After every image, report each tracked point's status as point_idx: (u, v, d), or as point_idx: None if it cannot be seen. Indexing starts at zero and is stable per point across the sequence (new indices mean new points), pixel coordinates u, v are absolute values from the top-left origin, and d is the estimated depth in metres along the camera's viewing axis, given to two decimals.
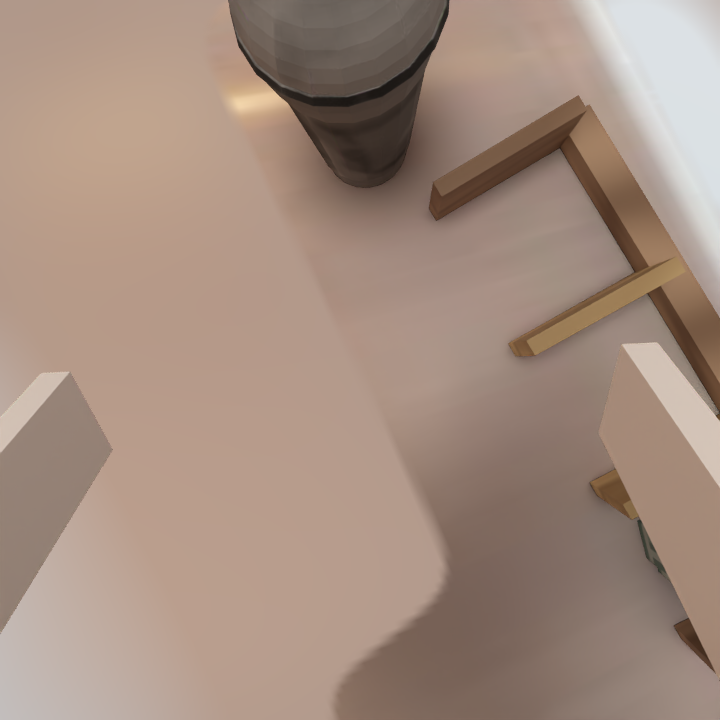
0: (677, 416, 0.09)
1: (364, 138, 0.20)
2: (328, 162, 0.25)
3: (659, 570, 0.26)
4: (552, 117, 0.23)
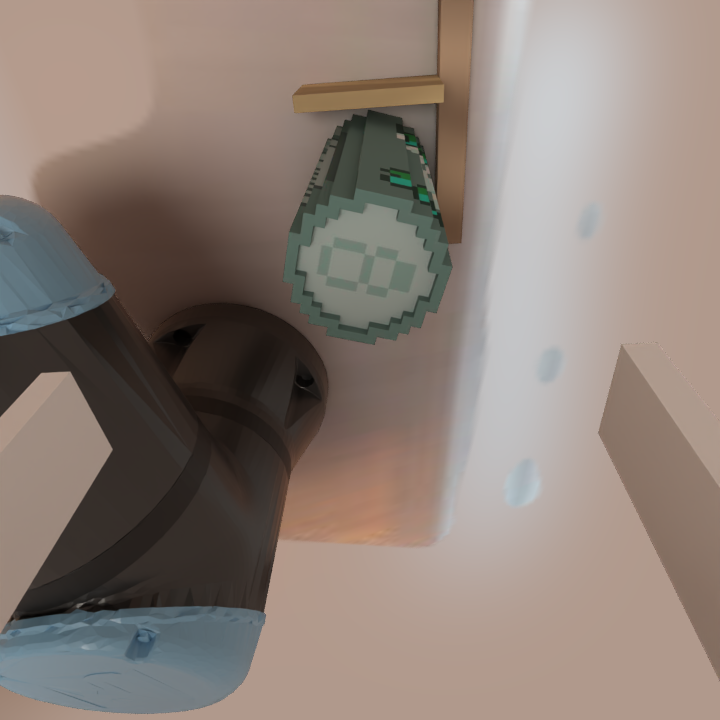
0: (677, 416, 0.09)
1: None
2: None
3: None
4: None
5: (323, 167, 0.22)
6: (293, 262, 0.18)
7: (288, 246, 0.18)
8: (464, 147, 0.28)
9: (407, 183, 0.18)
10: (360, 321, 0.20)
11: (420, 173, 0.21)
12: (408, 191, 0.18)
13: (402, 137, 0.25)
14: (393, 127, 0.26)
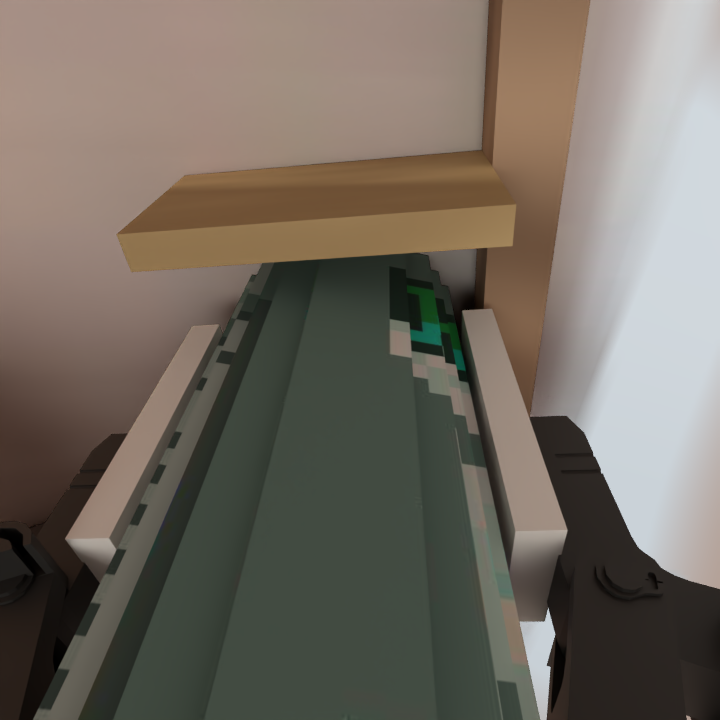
0: (480, 364, 0.11)
1: None
2: None
3: None
4: None
5: (143, 532, 0.07)
6: None
7: None
8: (542, 304, 0.13)
9: None
10: None
11: (469, 580, 0.06)
12: None
13: (404, 344, 0.09)
14: (382, 291, 0.11)
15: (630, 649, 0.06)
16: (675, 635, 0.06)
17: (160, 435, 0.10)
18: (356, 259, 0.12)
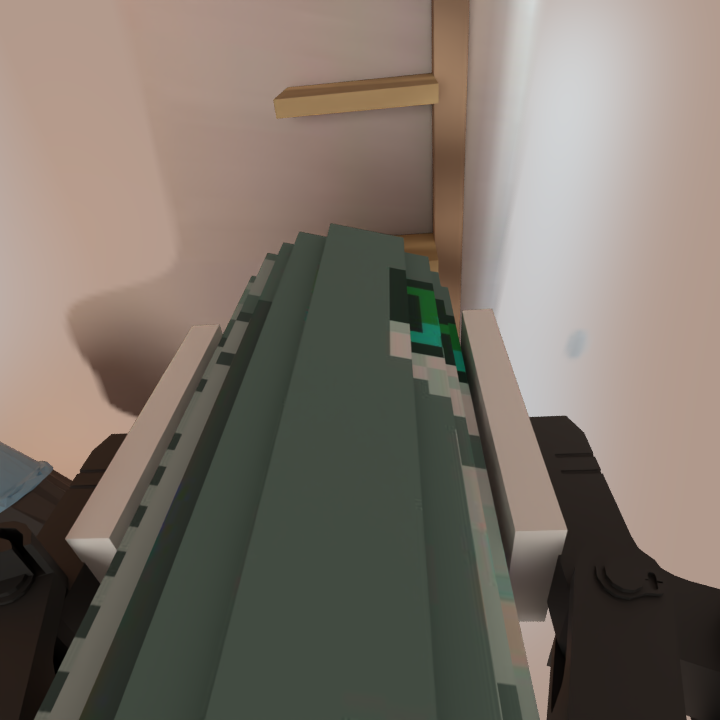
0: (480, 365, 0.11)
1: None
2: None
3: None
4: None
5: (143, 534, 0.07)
6: None
7: None
8: (459, 294, 0.31)
9: None
10: None
11: (469, 582, 0.06)
12: None
13: (404, 345, 0.09)
14: (382, 292, 0.11)
15: (630, 649, 0.06)
16: (675, 635, 0.06)
17: (160, 435, 0.10)
18: (356, 260, 0.12)
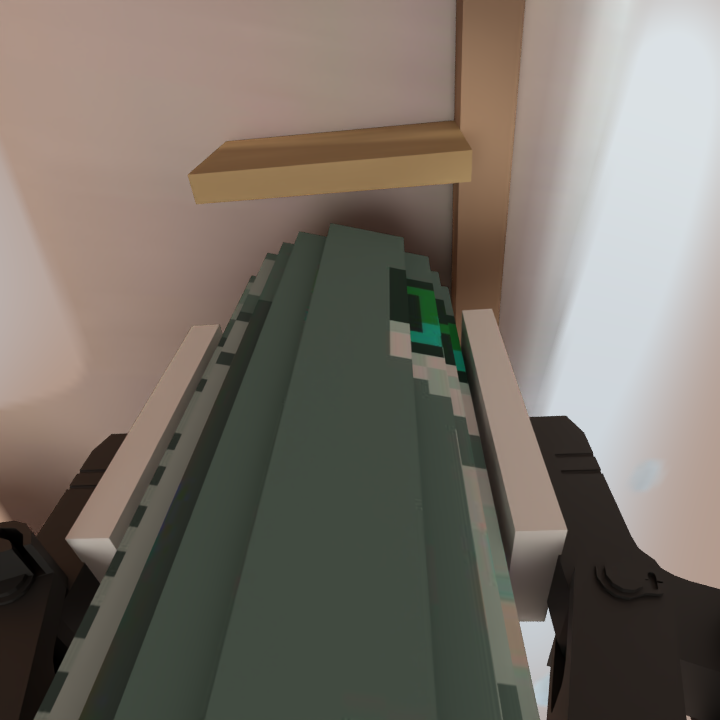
0: (480, 364, 0.11)
1: None
2: None
3: None
4: None
5: (143, 534, 0.07)
6: None
7: None
8: None
9: None
10: None
11: (469, 583, 0.06)
12: None
13: (404, 345, 0.09)
14: (382, 292, 0.11)
15: (630, 649, 0.06)
16: (675, 635, 0.06)
17: (160, 435, 0.10)
18: (356, 260, 0.12)
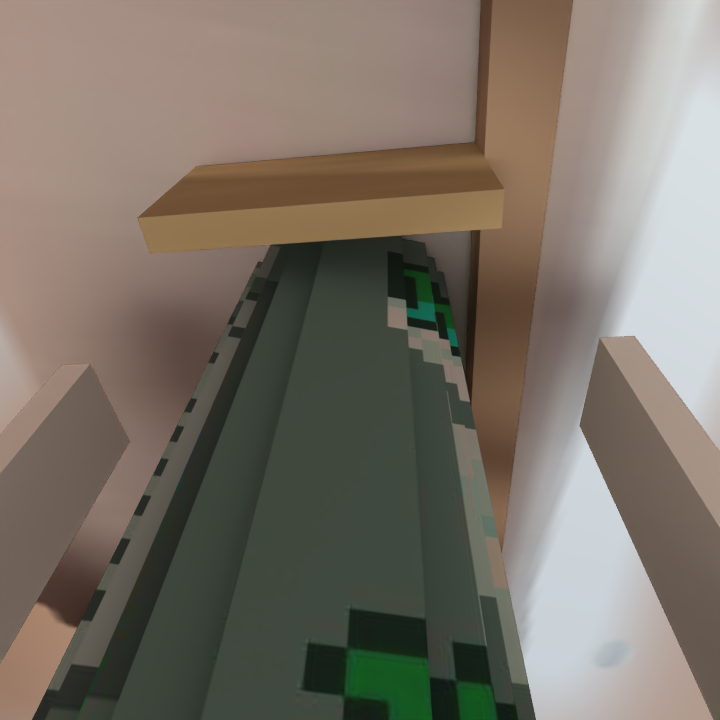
0: (649, 406, 0.09)
1: None
2: None
3: None
4: None
5: (168, 476, 0.07)
6: None
7: None
8: (507, 490, 0.19)
9: None
10: None
11: (456, 513, 0.07)
12: None
13: (401, 318, 0.10)
14: (381, 272, 0.12)
15: None
16: None
17: None
18: (356, 244, 0.13)
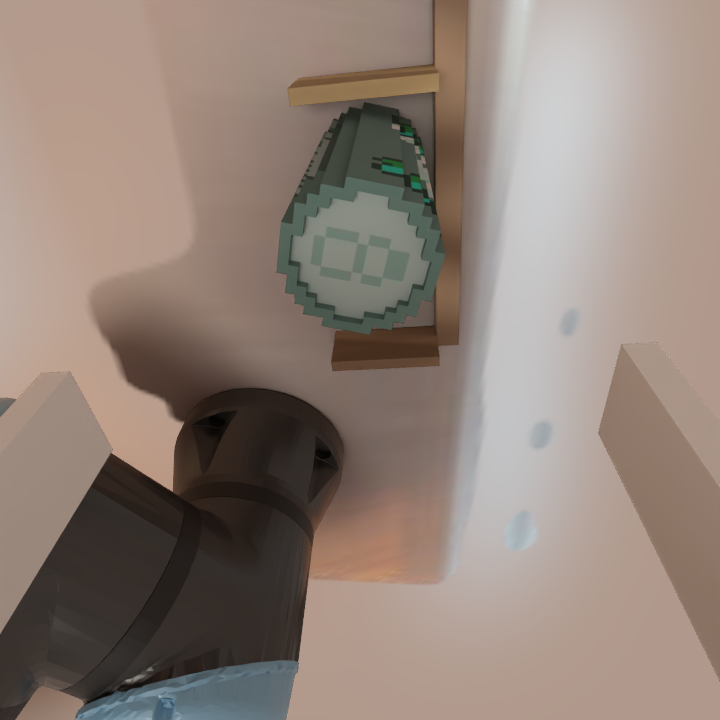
0: (677, 416, 0.09)
1: None
2: None
3: None
4: None
5: (317, 159, 0.22)
6: (287, 252, 0.18)
7: (280, 236, 0.18)
8: (458, 273, 0.33)
9: (399, 171, 0.18)
10: (355, 311, 0.20)
11: (414, 162, 0.21)
12: (399, 179, 0.18)
13: (397, 127, 0.25)
14: (389, 118, 0.26)
15: None
16: None
17: None
18: (377, 111, 0.27)
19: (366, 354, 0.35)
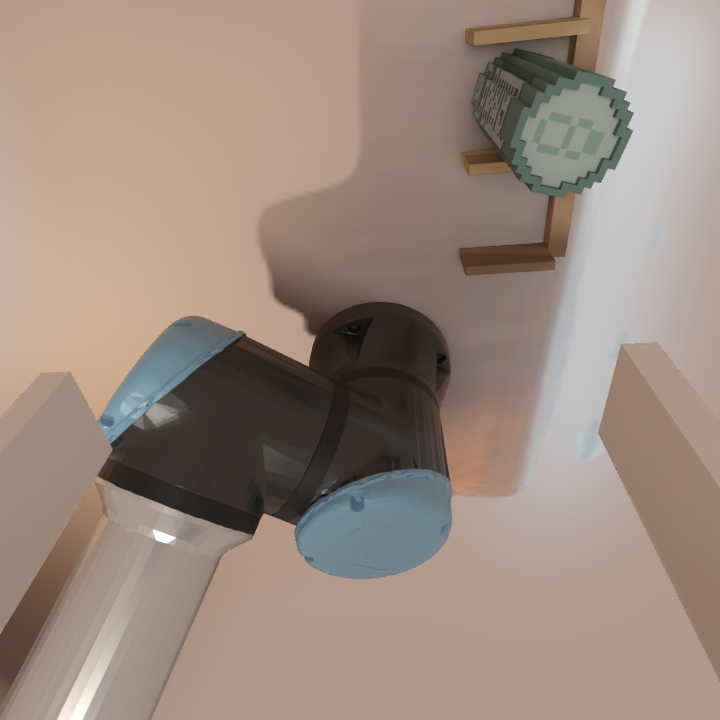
0: (677, 416, 0.09)
1: None
2: None
3: None
4: None
5: (514, 77, 0.30)
6: (521, 131, 0.26)
7: (520, 118, 0.26)
8: None
9: (599, 74, 0.26)
10: (555, 180, 0.28)
11: None
12: None
13: None
14: (545, 56, 0.34)
15: None
16: None
17: None
18: None
19: (493, 261, 0.43)
